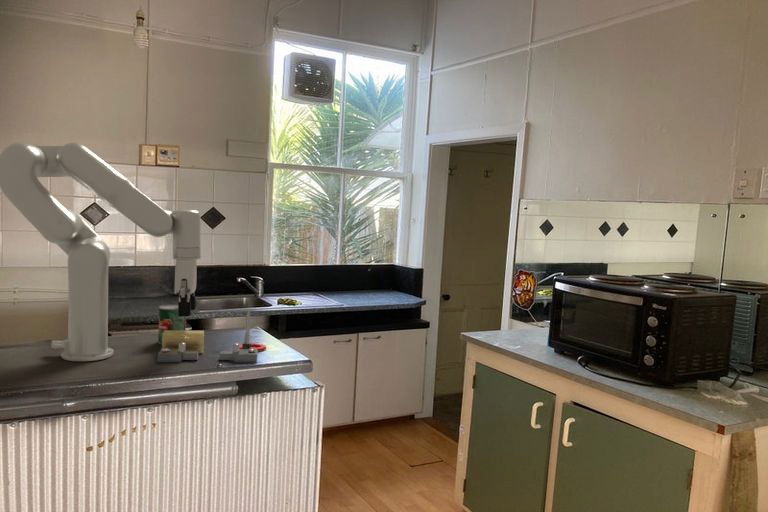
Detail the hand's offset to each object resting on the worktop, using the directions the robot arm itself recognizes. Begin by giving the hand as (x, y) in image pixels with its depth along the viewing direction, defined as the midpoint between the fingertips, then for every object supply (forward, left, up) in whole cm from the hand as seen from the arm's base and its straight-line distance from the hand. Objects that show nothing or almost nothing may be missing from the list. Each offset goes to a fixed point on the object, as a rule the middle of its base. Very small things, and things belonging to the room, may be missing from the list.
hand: (187, 312), depth 166 cm
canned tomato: (-6, +12, -12) cm, 18 cm away
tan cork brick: (-1, 0, -12) cm, 12 cm away
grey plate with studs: (+7, -8, -11) cm, 16 cm away
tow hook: (+18, +4, -12) cm, 22 cm away
